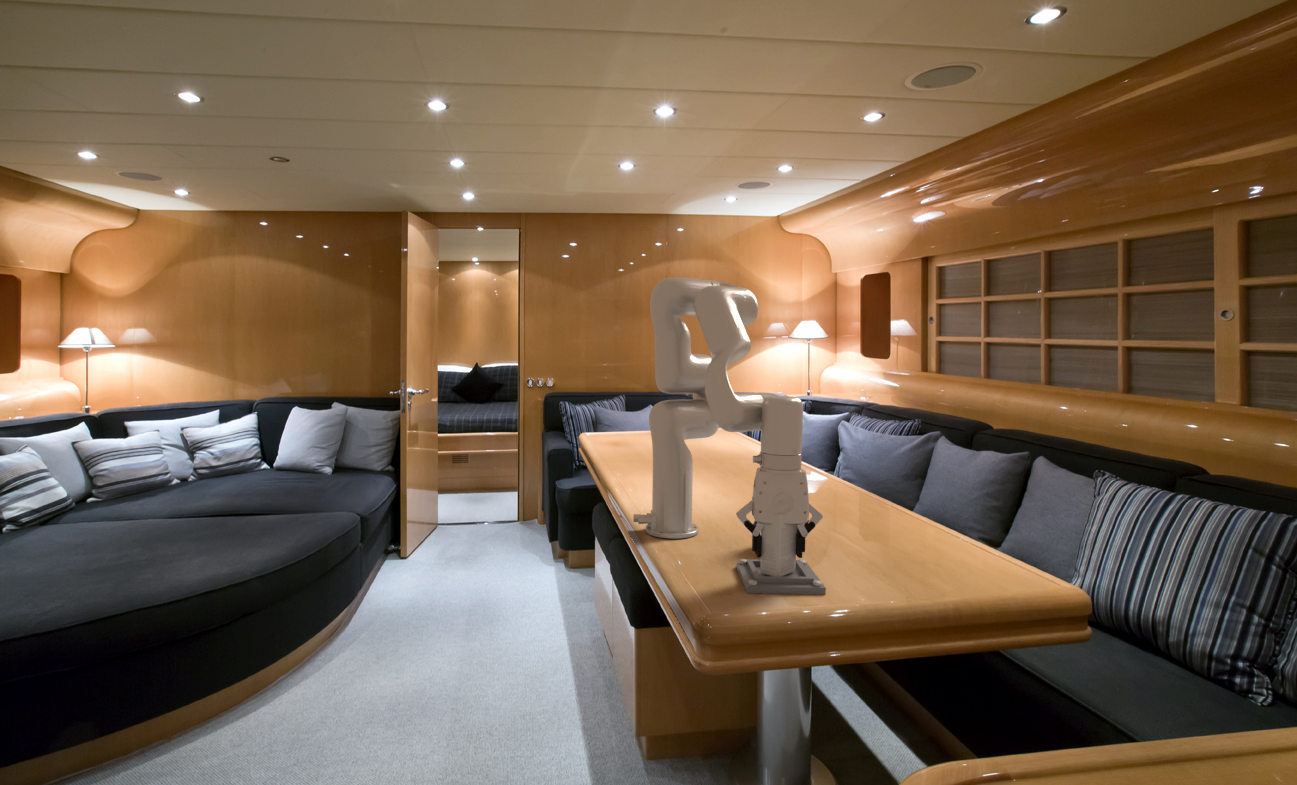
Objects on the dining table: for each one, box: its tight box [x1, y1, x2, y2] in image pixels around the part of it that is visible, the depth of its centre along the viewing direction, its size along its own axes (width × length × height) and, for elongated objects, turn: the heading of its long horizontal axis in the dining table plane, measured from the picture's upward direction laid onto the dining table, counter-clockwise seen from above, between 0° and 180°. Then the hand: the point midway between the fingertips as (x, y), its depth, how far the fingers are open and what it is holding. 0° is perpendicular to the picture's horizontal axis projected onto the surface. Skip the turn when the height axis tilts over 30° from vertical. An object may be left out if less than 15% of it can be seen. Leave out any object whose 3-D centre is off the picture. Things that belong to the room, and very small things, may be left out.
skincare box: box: [759, 513, 797, 576], centre depth 121 cm, size 6×4×12 cm
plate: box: [735, 558, 827, 595], centre depth 121 cm, size 14×14×2 cm
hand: (778, 554), depth 121 cm, fingers closed on skincare box, 7 cm apart
